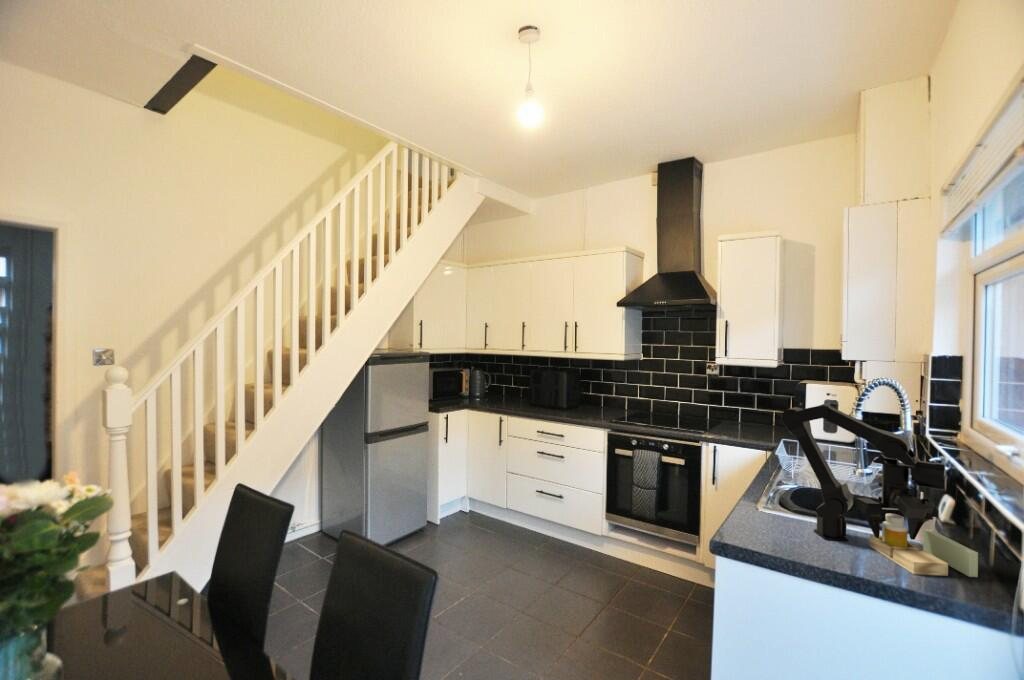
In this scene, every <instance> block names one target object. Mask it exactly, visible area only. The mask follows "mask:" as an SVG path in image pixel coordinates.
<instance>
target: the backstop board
mask: <svg viewBox="0 0 1024 680" xmlns="http://www.w3.org/2000/svg"><path fill="white" fill-rule="evenodd" d="M923 551H926V552H928V553H930V554H932V555H933V556H935V557H937V558H939V559H941V560H942V561H944V562H946V563H948V567H951V568H953V569H955V570H957V571H958V572H960V573H962V574H964V575H965V576H967V577H969V578H978V576H979V575H978V573H979V572H978V571H979V562H978V561H979V552H977V551H975V550H973V549H972V548H969V547H967V546H965V545H964V544H961V543H959V542H957V541H956V540H955V541H954V540H953V539H952V538H951V539H950V538H948V537H947V536H944V535H942V534H940V533H938V532H937V531H935V530H934V531H933V530H924V542H923Z"/></svg>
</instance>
